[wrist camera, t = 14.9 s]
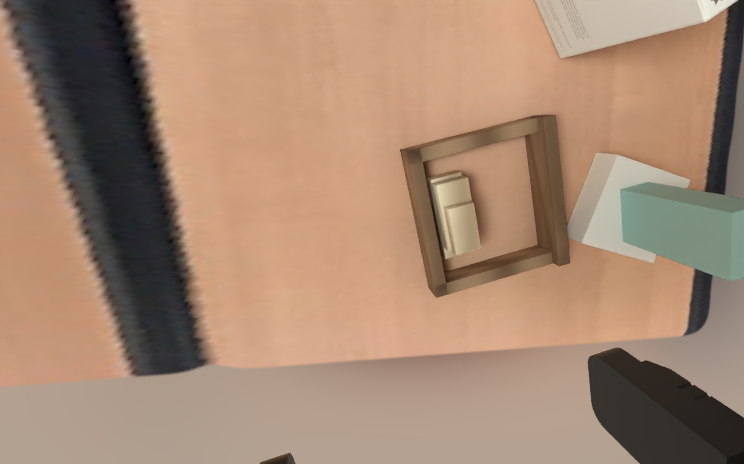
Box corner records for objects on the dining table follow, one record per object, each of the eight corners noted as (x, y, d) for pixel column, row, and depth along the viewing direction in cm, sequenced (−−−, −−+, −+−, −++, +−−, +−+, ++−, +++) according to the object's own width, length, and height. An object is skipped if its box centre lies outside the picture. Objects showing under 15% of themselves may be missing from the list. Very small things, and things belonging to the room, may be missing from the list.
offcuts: (440, 254, 43) (455, 268, 39) (425, 177, 40) (440, 184, 36) (468, 246, 43) (486, 259, 39) (455, 170, 41) (472, 175, 37)
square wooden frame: (428, 287, 43) (440, 301, 40) (400, 149, 39) (409, 152, 36) (549, 252, 45) (570, 263, 41) (534, 115, 41) (555, 115, 37)
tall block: (622, 241, 42) (730, 281, 32) (620, 189, 41) (732, 213, 30) (649, 233, 43) (764, 270, 32) (647, 181, 41) (767, 202, 31)
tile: (596, 152, 43) (617, 154, 40) (665, 176, 45) (690, 179, 42) (563, 235, 44) (581, 243, 42) (631, 254, 47) (652, 263, 44)
